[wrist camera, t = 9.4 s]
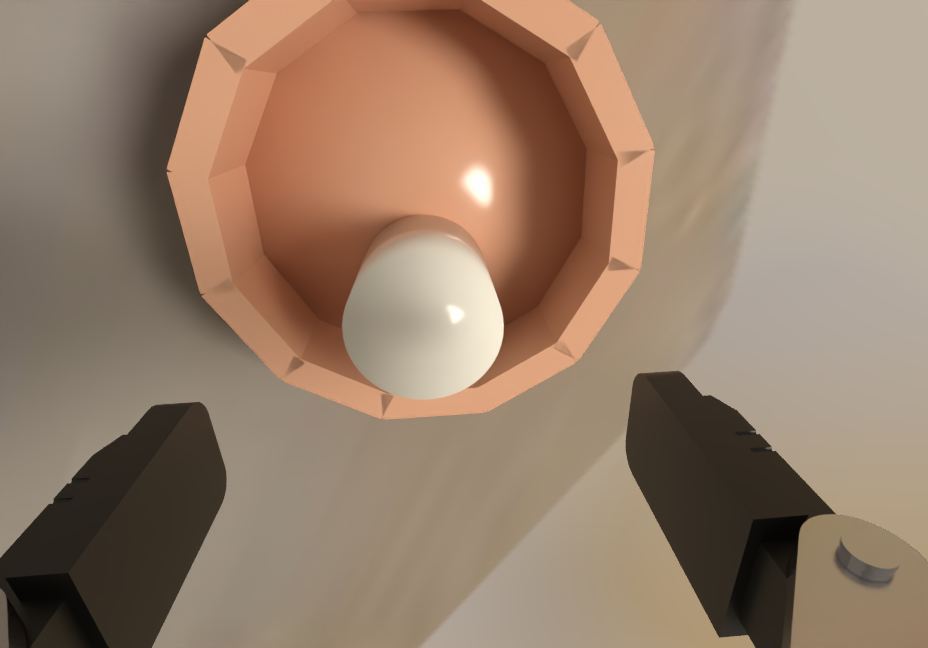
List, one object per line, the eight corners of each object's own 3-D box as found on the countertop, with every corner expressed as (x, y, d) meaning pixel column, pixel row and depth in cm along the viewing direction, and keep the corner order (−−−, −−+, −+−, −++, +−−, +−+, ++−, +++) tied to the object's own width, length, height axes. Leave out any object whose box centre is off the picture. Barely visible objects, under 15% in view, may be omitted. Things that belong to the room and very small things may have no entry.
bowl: (184, -17, 15) (105, -53, 11) (620, -30, 15) (680, -68, 12) (271, 369, 20) (237, 429, 17) (590, 348, 21) (625, 403, 17)
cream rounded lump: (355, 217, 17) (331, 258, 13) (485, 211, 17) (504, 249, 13) (369, 335, 19) (352, 404, 15) (487, 328, 19) (503, 394, 15)
